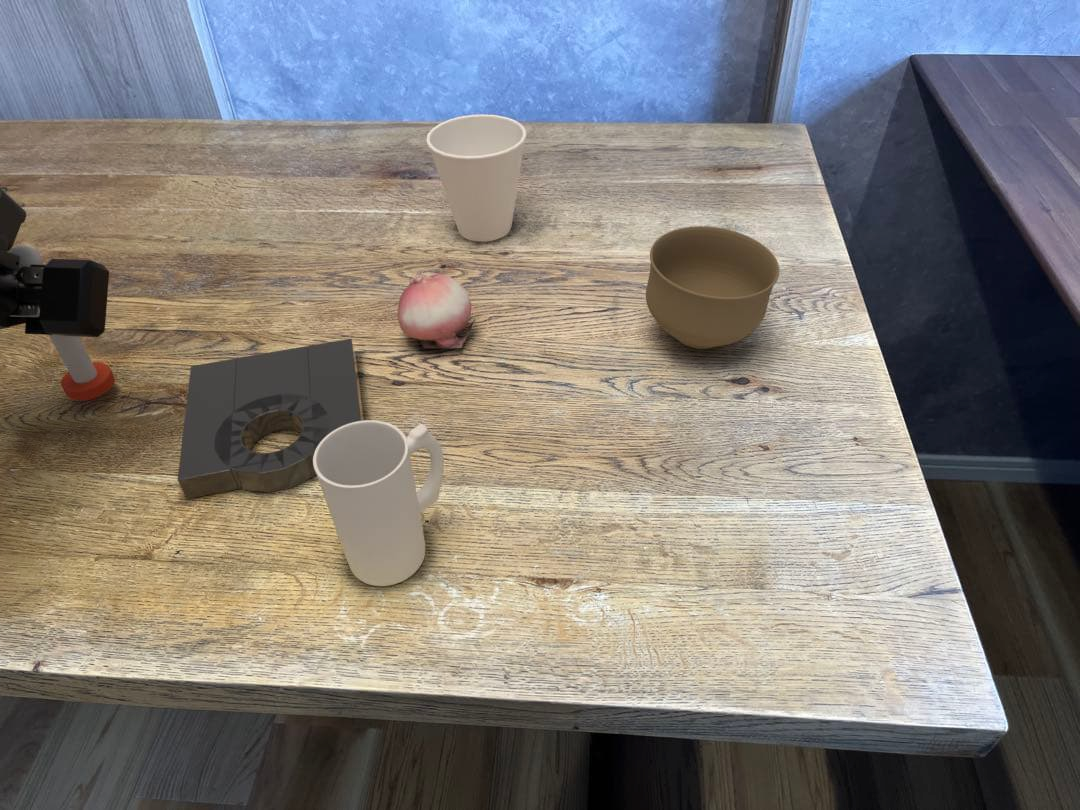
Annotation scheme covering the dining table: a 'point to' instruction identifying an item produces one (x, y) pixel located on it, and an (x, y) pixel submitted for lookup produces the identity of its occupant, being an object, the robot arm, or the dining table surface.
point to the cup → (479, 171)
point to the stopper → (72, 352)
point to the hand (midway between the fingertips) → (63, 311)
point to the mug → (378, 496)
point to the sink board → (265, 416)
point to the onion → (435, 311)
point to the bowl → (709, 285)
